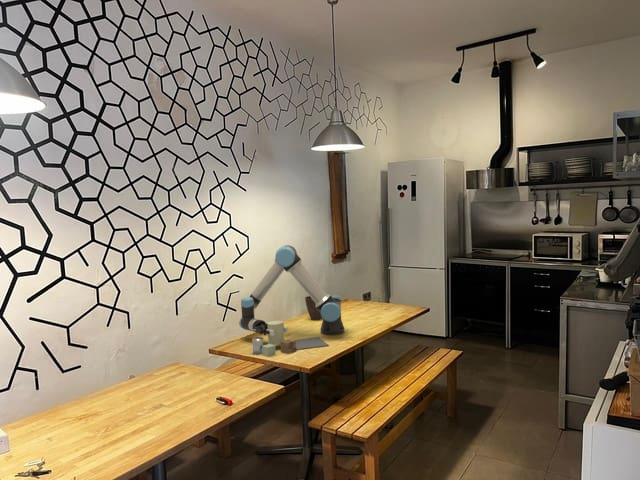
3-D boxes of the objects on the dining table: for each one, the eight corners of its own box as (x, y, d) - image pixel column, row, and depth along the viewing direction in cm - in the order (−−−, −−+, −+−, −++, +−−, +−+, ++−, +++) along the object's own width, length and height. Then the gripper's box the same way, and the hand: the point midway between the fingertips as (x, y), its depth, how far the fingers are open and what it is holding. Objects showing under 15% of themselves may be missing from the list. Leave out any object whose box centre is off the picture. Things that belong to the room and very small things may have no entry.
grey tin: (262, 350, 262) (262, 336, 261) (264, 353, 256) (264, 339, 256) (252, 352, 260) (251, 337, 260) (253, 355, 254) (253, 340, 254)
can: (282, 345, 261) (280, 323, 260) (266, 344, 263) (264, 323, 262) (286, 340, 270) (285, 319, 269) (271, 340, 272) (269, 319, 271)
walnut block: (289, 349, 262) (289, 339, 262) (296, 351, 258) (296, 340, 258) (281, 352, 258) (280, 341, 258) (287, 354, 254) (287, 343, 254)
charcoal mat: (318, 337, 285) (318, 336, 285) (328, 346, 266) (328, 345, 266) (286, 341, 279) (286, 340, 279) (294, 350, 260) (294, 349, 260)
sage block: (270, 352, 258) (269, 343, 257) (275, 354, 254) (275, 345, 254) (262, 355, 254) (262, 345, 254) (267, 356, 250) (267, 347, 250)
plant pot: (326, 321, 329) (325, 298, 328) (305, 322, 329) (304, 299, 328) (326, 316, 344) (325, 295, 343) (306, 317, 344) (305, 295, 343)
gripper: (272, 328, 287) (296, 334, 270) (242, 335, 272) (265, 342, 255) (272, 316, 286) (295, 321, 269) (241, 323, 272) (264, 328, 255)
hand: (280, 331), depth 262 cm, fingers closed on can, 9 cm apart
